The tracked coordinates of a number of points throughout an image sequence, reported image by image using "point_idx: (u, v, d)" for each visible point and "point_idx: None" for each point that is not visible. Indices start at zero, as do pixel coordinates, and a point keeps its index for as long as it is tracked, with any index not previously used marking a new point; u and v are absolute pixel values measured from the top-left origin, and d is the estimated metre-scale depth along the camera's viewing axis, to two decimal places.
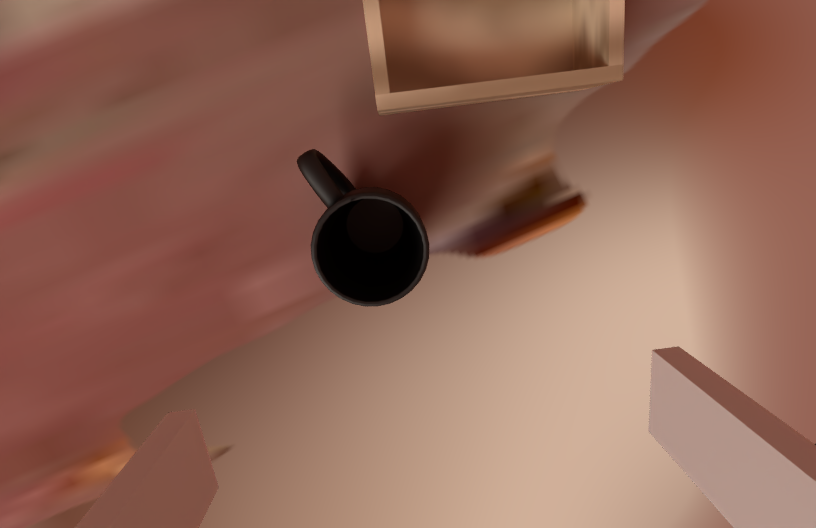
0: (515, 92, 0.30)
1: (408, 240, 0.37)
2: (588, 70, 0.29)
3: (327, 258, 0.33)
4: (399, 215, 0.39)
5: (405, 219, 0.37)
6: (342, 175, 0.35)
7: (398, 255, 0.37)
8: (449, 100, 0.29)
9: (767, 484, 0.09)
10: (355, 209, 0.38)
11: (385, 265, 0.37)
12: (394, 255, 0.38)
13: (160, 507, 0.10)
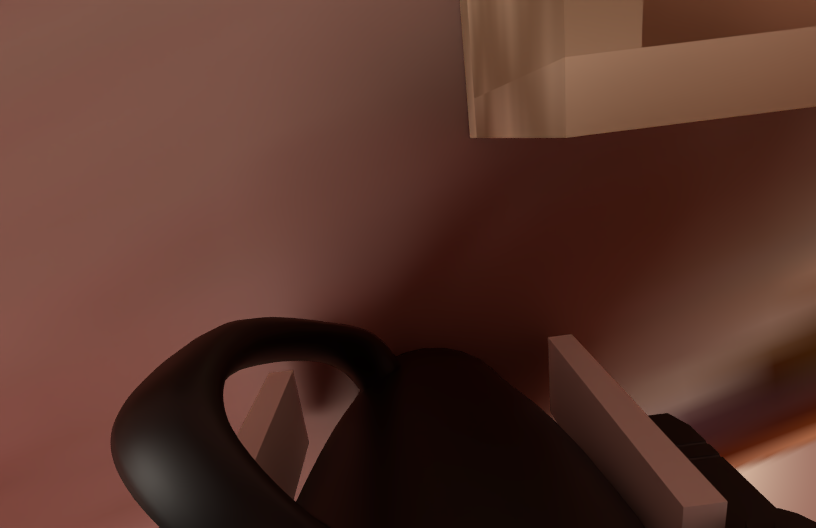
0: None
1: None
2: None
3: None
4: None
5: None
6: (353, 335, 0.11)
7: None
8: None
9: (609, 447, 0.10)
10: None
11: None
12: None
13: (280, 448, 0.11)
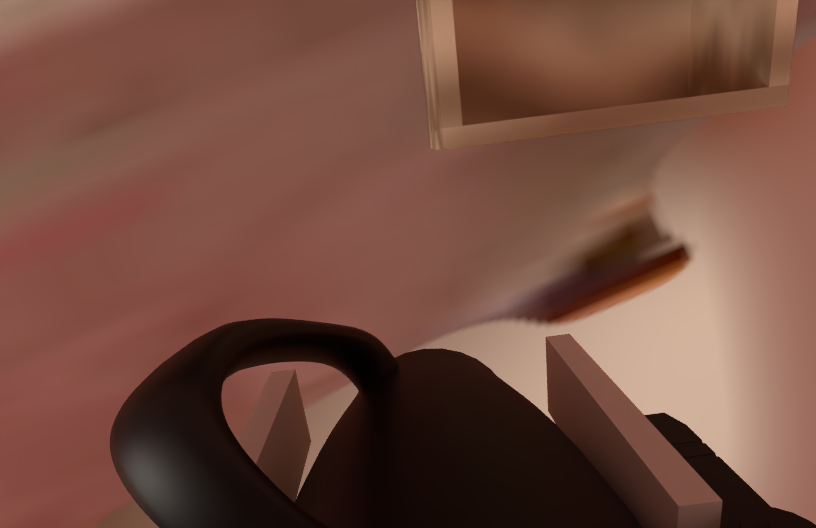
0: (637, 123, 0.21)
1: None
2: (740, 93, 0.21)
3: None
4: None
5: None
6: (351, 336, 0.11)
7: None
8: (545, 135, 0.21)
9: (606, 447, 0.10)
10: None
11: None
12: None
13: (283, 447, 0.11)
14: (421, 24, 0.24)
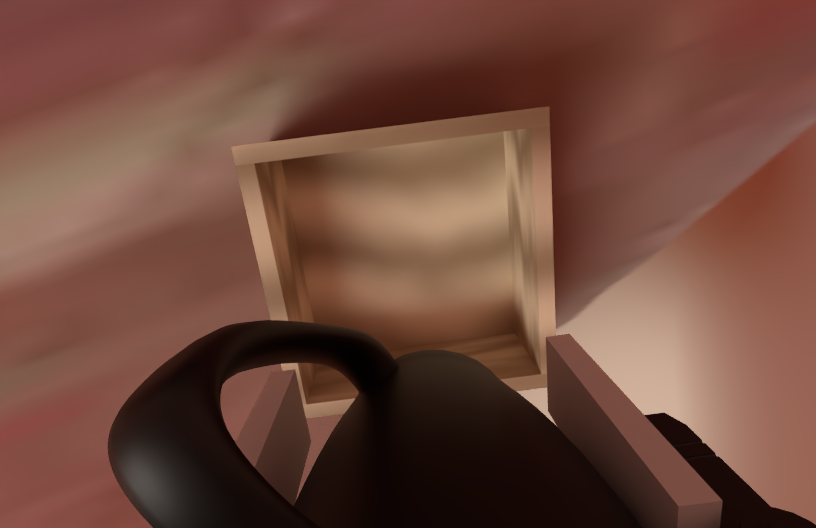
0: None
1: None
2: (519, 378, 0.27)
3: None
4: None
5: None
6: (351, 337, 0.11)
7: None
8: None
9: (606, 447, 0.10)
10: None
11: None
12: None
13: (283, 447, 0.11)
14: None
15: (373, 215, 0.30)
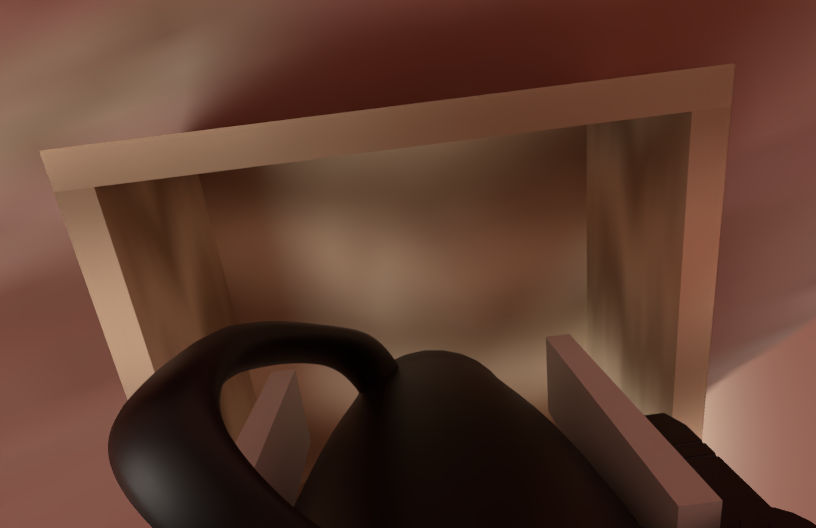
0: None
1: None
2: None
3: None
4: None
5: None
6: (351, 337, 0.11)
7: None
8: None
9: (605, 446, 0.10)
10: None
11: None
12: None
13: (283, 447, 0.11)
14: None
15: (359, 264, 0.18)
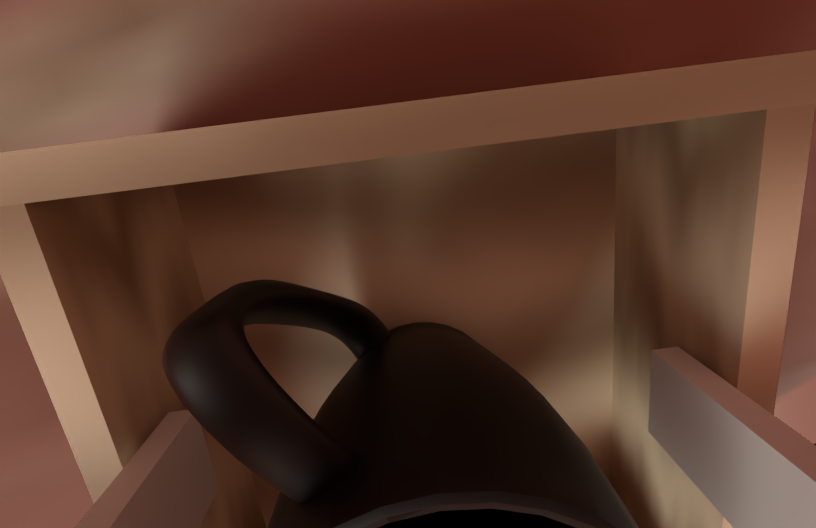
0: None
1: None
2: None
3: None
4: None
5: None
6: (348, 305, 0.13)
7: None
8: None
9: (766, 484, 0.09)
10: None
11: None
12: None
13: (161, 507, 0.10)
14: None
15: (357, 284, 0.16)
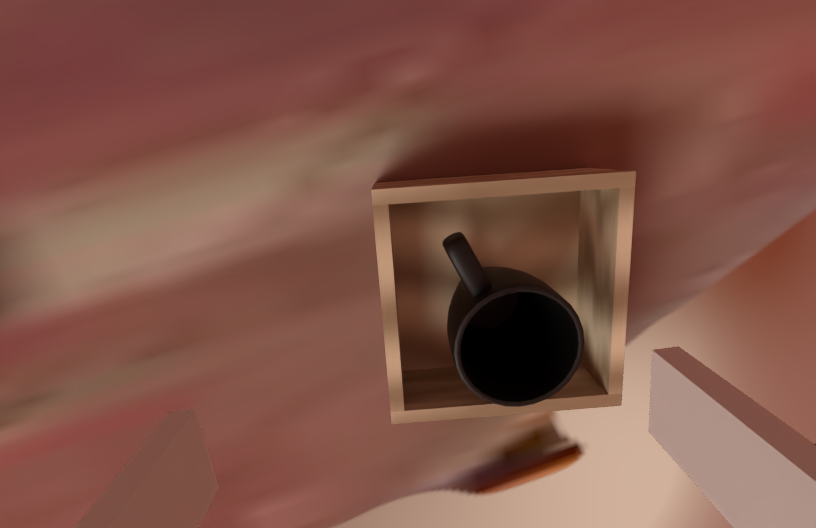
0: (521, 412, 0.32)
1: (530, 320, 0.34)
2: (589, 397, 0.32)
3: None
4: None
5: (526, 296, 0.34)
6: None
7: (517, 336, 0.34)
8: (459, 417, 0.32)
9: (767, 484, 0.09)
10: None
11: (504, 347, 0.34)
12: (511, 334, 0.34)
13: (160, 507, 0.10)
14: None
15: None
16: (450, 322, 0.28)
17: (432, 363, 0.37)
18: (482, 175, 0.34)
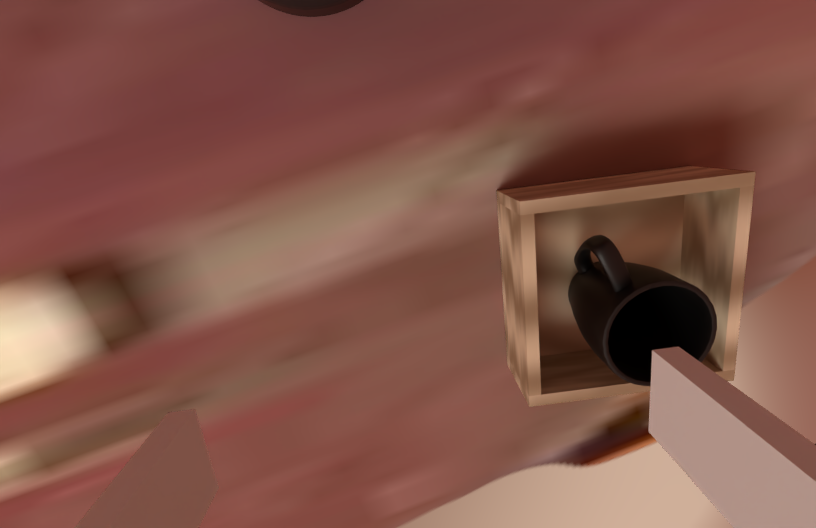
0: (644, 391, 0.35)
1: (644, 308, 0.37)
2: None
3: None
4: None
5: None
6: None
7: (632, 322, 0.38)
8: (589, 398, 0.35)
9: (767, 484, 0.09)
10: None
11: (620, 333, 0.37)
12: (624, 321, 0.38)
13: (160, 507, 0.10)
14: (509, 307, 0.38)
15: (576, 245, 0.38)
16: (589, 314, 0.32)
17: (547, 350, 0.41)
18: (595, 178, 0.37)
